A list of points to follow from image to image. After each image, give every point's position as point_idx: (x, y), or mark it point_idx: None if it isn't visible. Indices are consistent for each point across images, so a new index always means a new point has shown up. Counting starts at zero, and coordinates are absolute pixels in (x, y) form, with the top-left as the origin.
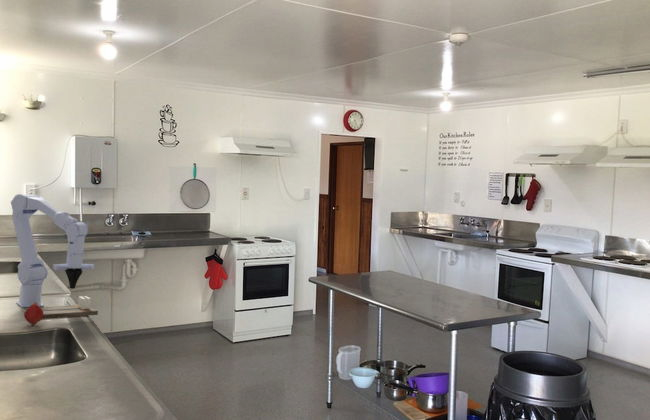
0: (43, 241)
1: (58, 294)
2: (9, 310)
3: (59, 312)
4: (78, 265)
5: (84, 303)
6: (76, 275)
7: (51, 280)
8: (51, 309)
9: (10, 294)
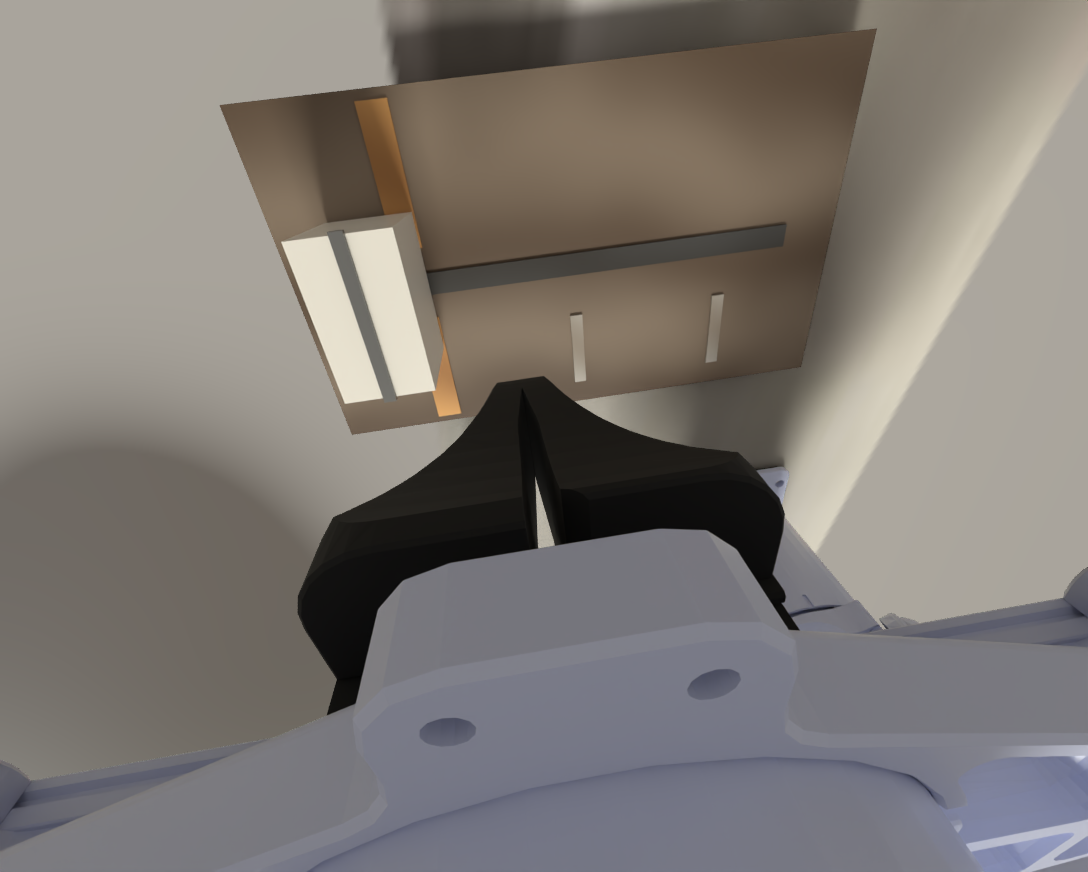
0: None
1: None
2: (874, 411)
3: (650, 116)
4: (456, 835)
5: (375, 221)
6: (498, 470)
7: None
8: (679, 281)
9: None
